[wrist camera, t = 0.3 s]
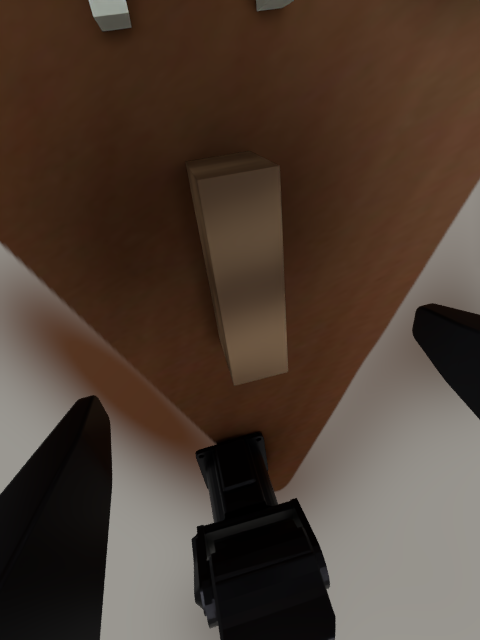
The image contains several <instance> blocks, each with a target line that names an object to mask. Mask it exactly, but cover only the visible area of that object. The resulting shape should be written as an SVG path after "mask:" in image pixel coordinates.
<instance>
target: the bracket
mask: <svg viewBox="0 0 480 640" xmlns="http://www.w3.org/2000/svg"><path fill="white" fill-rule="evenodd" d="M292 1H294V0H256V6H257V11H263V10H270V9H278V8H283V7H285V6H286V5H288V4H289V3H291V2H292ZM89 3H90V7H91V10H92V14H93V17H94V19H95V20H96V22H97V23H98V25H99V27H100V28H101V30H102V31H110V30H118V29H126V28H132V27H131V22H130V17H129V12H128V8H127V3H126V0H89Z"/></svg>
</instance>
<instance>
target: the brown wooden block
mask: <svg viewBox="0 0 480 640" xmlns="http://www.w3.org/2000/svg"><path fill="white" fill-rule="evenodd" d="M185 163H186V168H187V173H188V178H189V184H190V189H191V194H192V199H193V204H194V209H195V215H196V220H197V225H198V230H199V235H200V240H201V245H202V251H203V256H204V261H205V266H206V271H207V276H208V282H209V287H210V292H211V297H212V302H213V307H214V313H215V318H216V323H217V328H218V333H219V338H220V342H221V345H222V348H223V352H224V355H225V358H226V361H227V364H228V368H229V371H230V374H231V377H232V381H233V384H234V386H236V385H240V384H243V383H247V382H251V381H255V380H259V379H263V378H266V377H270V376H274V375H278V374H282V373H286V372H288V359H287V334H286V309H285V284H284V259H283V234H282V209H281V184H280V166H279V165H277V164H275V163H273V162H271V161H269V160H267V159H265V158H263V157H261V156H259V155H257V154H255V153H253V152H251V151H246V152H240V153H234V154H228V155H222V156H216V157H210V158H204V159H198V160H192V161H187V162H185Z"/></svg>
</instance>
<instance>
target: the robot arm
mask: <svg viewBox="0 0 480 640" xmlns="http://www.w3.org/2000/svg"><path fill="white" fill-rule="evenodd" d="M412 331H413V336H414V338H415V340H416V341H417V342H418V344H419V345H420V347H421V348H422V349H423V351H424V352H425V353H426V355H427V356H428V357H429V359H430V360H431V362H432V363H433V364H434V366H435V367H436V369H437V370H438V371H439V373H440V374H441V375H442V377H443V378H444V379H445V381H446V382H447V383H448V384H449V385H450V386H451V388H452V389H453V390H454V391H455V392H456V393H457V394H458V396H459V397H460V398H461V399H462V400H463V401H464V402H465V403H466V404H467V406H468V407H469V408H470V409H471V410H472V411H473V412H474V414H475V415H476V416H477V417H478V418H479V419H480V315H478V314H474V313H470V312H466V311H462V310H458V309H454V308H450V307H446V306H442V305H437V304H433V303H432V304H427V305H423V306H420V307H419V308H417V310H416V313H415V318H414V324H413V329H412ZM196 459H197V462H198V464H199V467H200V470H201V473H202V475H203V478H204V481H205V483H206V486H207V488H208V489H209V494H210V500H211V507H212V512H213V519H214V523H212V524H209V525H205V526H203V525H201V526H197V535H196V536H195V537H194V538H192V548H193V558H194V594H195V602H196V604H197V605H199V606H200V607H201V608H202V609H203V610H204V614H205V616H207V620H208V624H209V628H213V627H216V626H219V632H220V639H221V640H335V614H334V611H333V609H332V606H331V602H330V599H329V596H328V593H327V590H326V589H328V588H329V587H330V581H329V575H328V571H327V566H326V563H325V560H324V557H323V554H322V551H321V549H320V546H319V543H318V541H317V539H316V537H315V535H314V533H313V531H312V529H311V527H310V524H309V522H308V520H307V518H306V516H305V514H304V512H303V510H302V508H301V506H300V504H299V502H298V500H297V498H295V499H292V500H290V501H289V502H285V503H282V504H278V503H277V500H276V496H275V493H274V490H273V487H272V484H271V481H270V478H269V475H268V472H267V471H268V465H267V458H266V451H265V444H264V438H263V435H262V433H255V434H251V435H248V436H245V437H241V438H238V439H234V440H231V441H227V442H224V443H221V444H217V445H214V446H210V447H207V448H204V449H200V450H198V451H196ZM111 493H112V455H111V429H110V420H109V417H108V415H107V413H106V411H105V409H104V407H103V406H102V404H101V402H100V400H99V399H98V398H97V397H96V396H94V395H93V396H88V397H85V398H81V399H79V400H77V402H76V403H75V404H74V405H73V406H72V408H71V409H70V410H69V411H68V412H67V414H66V415H65V416H64V417H63V419H62V420H61V421H60V422H59V423H58V425H57V426H56V427H55V428H54V429H53V431H52V432H51V433H50V434H49V436H48V437H47V438H46V439H45V440H44V442H43V443H42V444H41V446H40V447H39V448H38V449H37V450H36V452H35V453H34V454H33V455H32V456H31V458H30V459H29V460H28V461H27V462H26V464H25V465H24V466H23V467H22V469H21V470H20V471H19V472H18V473H17V475H16V476H15V477H14V478H13V480H12V481H11V482H10V484H9V485H8V486H7V487H6V488H5V489H4V491H3V492H2V493H1V494H0V640H100V629H101V617H102V605H103V593H104V579H105V568H106V555H107V543H108V530H109V518H110V506H111V505H110V504H111Z"/></svg>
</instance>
